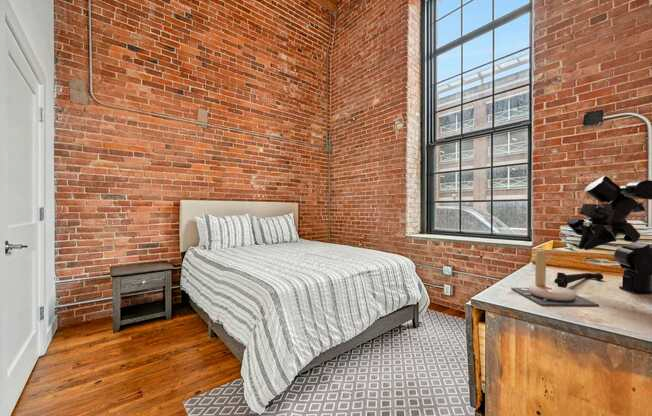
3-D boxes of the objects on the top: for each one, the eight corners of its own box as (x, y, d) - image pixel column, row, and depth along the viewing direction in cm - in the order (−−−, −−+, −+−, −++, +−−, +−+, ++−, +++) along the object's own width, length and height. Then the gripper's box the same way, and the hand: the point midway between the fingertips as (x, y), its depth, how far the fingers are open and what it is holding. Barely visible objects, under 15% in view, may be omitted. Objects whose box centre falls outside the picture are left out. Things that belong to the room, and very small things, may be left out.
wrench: (604, 285, 106) (572, 292, 90) (586, 282, 110) (552, 289, 94) (604, 270, 106) (572, 275, 90) (585, 268, 111) (552, 272, 94)
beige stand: (557, 288, 94) (558, 249, 94) (585, 300, 83) (586, 256, 83) (521, 288, 95) (521, 249, 95) (544, 300, 84) (544, 256, 84)
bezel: (559, 289, 96) (559, 286, 96) (599, 306, 81) (599, 303, 81) (510, 289, 97) (510, 286, 97) (540, 305, 82) (540, 302, 82)
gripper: (572, 195, 103) (541, 227, 102) (632, 194, 84) (594, 234, 83) (593, 217, 103) (562, 250, 103) (656, 221, 85) (620, 261, 84)
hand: (582, 248), depth 93 cm, fingers closed
